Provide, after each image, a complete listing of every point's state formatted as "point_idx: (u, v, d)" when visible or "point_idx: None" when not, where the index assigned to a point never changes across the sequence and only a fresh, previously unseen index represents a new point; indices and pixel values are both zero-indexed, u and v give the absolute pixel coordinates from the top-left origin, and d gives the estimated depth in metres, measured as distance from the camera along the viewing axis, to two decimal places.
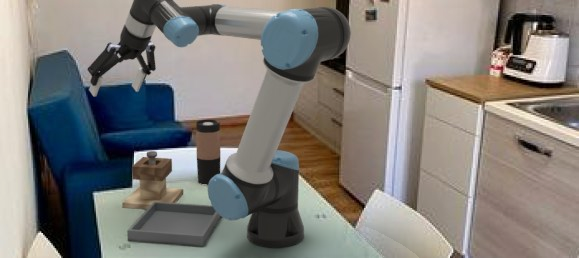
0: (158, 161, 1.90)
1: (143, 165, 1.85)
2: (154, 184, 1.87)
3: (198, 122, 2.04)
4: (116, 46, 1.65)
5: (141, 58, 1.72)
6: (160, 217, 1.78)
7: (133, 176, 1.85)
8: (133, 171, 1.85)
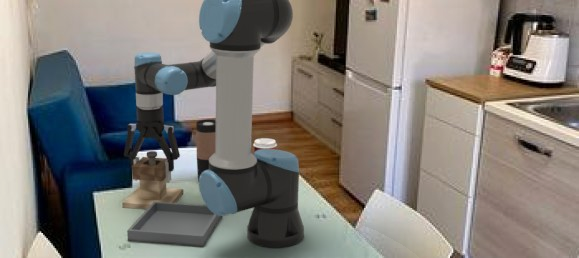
0: (158, 161, 1.90)
1: (143, 165, 1.85)
2: (154, 184, 1.87)
3: (198, 122, 2.04)
4: (133, 124, 1.86)
5: (157, 138, 1.84)
6: (160, 217, 1.78)
7: (133, 176, 1.85)
8: (133, 171, 1.85)
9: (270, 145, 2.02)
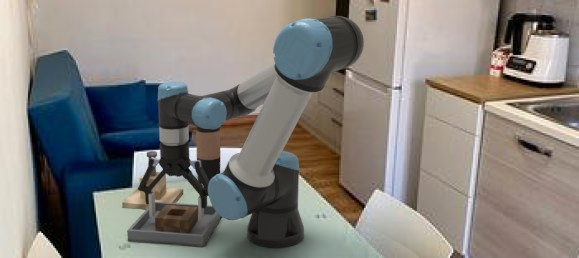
0: (183, 210, 1.73)
1: (167, 216, 1.68)
2: None
3: None
4: (156, 159, 1.68)
5: (185, 175, 1.66)
6: None
7: (156, 228, 1.68)
8: (156, 223, 1.68)
9: None
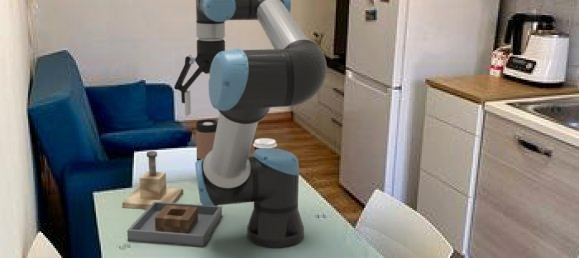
0: (183, 210, 1.73)
1: (167, 216, 1.68)
2: (154, 184, 1.87)
3: (198, 122, 2.04)
4: (193, 57, 1.71)
5: None
6: None
7: (156, 228, 1.68)
8: (156, 223, 1.68)
9: (270, 145, 2.02)
